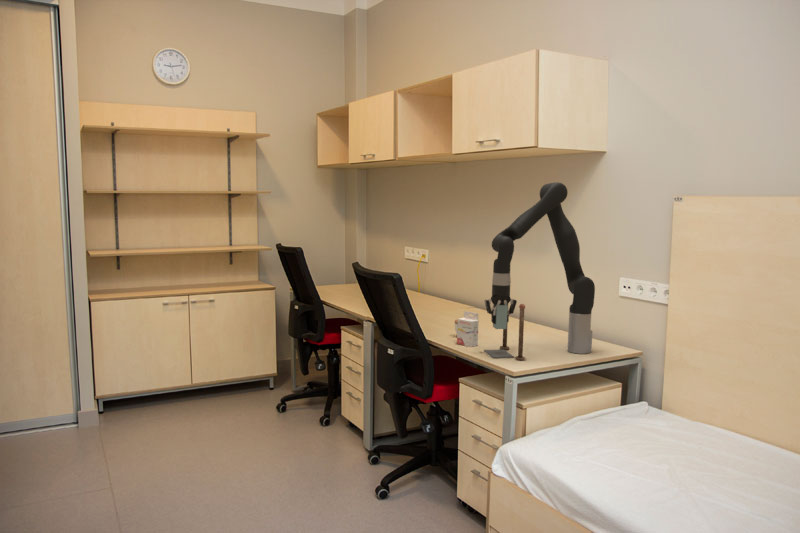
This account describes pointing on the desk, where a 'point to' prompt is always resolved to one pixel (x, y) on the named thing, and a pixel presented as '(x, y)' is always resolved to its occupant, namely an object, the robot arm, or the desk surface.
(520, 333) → the post
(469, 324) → the ink cartridge box
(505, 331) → the post
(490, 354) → the mat
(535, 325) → the desk surface
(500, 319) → the block
